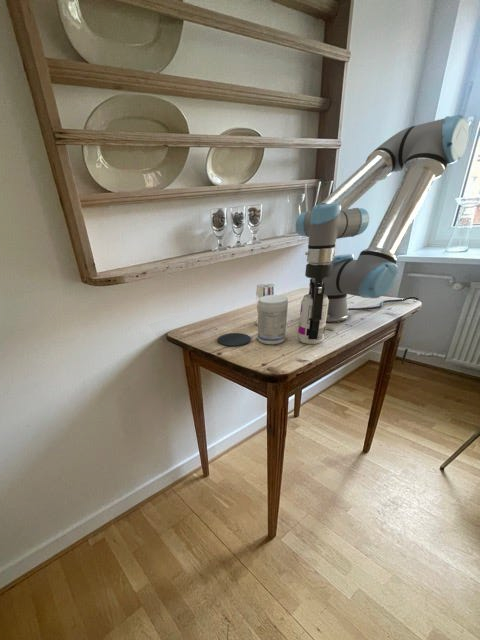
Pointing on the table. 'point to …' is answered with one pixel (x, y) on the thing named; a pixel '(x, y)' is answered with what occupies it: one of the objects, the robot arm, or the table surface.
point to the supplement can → (305, 322)
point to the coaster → (234, 339)
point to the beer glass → (263, 292)
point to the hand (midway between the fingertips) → (311, 333)
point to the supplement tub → (272, 319)
